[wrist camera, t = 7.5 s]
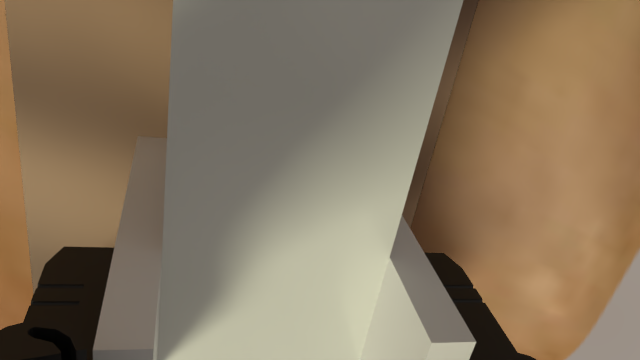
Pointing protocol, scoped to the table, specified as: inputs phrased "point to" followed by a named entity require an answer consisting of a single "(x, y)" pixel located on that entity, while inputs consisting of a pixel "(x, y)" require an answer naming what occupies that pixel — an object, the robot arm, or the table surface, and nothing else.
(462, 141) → the table surface
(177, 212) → the strip
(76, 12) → the rack
